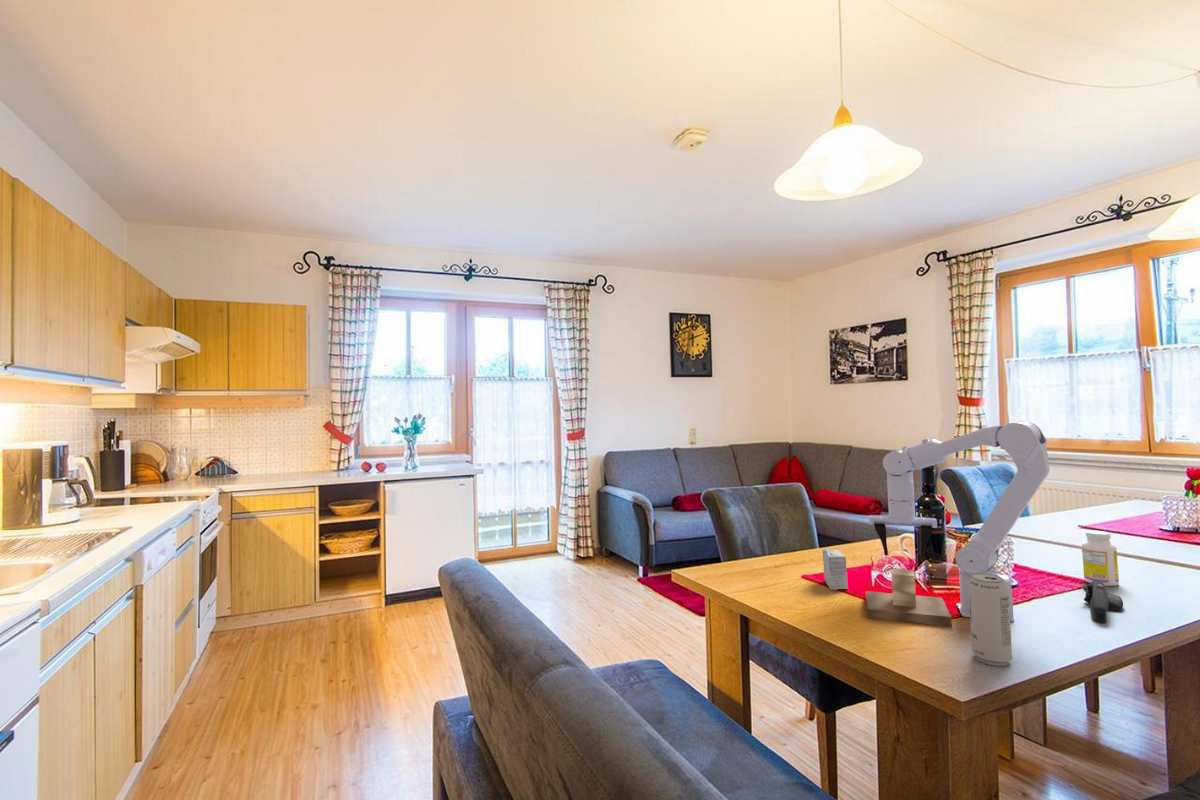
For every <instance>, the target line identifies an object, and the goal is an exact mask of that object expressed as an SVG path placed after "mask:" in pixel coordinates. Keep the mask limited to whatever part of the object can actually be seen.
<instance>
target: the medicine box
mask: <svg viewBox="0 0 1200 800" xmlns="http://www.w3.org/2000/svg"><path fill="white" fill-rule="evenodd" d="M822 560H823V561H822V562H823V578H824V582H825V584H826V585H827V586H828V589H829V590H831V591H832V590H833V591H839V590H838V589H848V590H849V585H848V570H847V557H846V556H845V555H844V554H843V552H842V551H841V550H840V549H823V550H822Z"/></svg>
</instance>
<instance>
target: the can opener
mask: <svg viewBox="0 0 1200 800" xmlns="http://www.w3.org/2000/svg"><path fill="white" fill-rule="evenodd" d="M1081 585H1082V587H1081V589H1082V590H1083V591H1084V592H1085V594H1084V595H1085V596H1084V598H1083V601H1084V602H1086V603H1087V604H1090V607H1089V608H1090V615H1091V618H1092V620H1093V621H1094V622H1096V623H1098V624H1106V622H1107V613H1108V611H1109V610H1111V611H1119V612H1120V611H1122V609H1123V607H1124V601H1123V599H1122V597H1121V596H1119V595H1118V594H1114V593H1111V592H1109V591H1107V589H1106V586H1105V585H1104V584H1103V583H1102V582H1101V581H1099V580H1095V581H1092V583H1082V584H1081Z"/></svg>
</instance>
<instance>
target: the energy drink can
mask: <svg viewBox="0 0 1200 800" xmlns="http://www.w3.org/2000/svg"><path fill="white" fill-rule="evenodd" d="M969 603H970V617H969V619H970V635H971V637H970V639H971V652H972V654H973V655H974V656H975V659H976V660H977V661H980V662H982V663H983V664H987V665H991V666H996V667H997V666H998V667H1005V666H1008V665H1009V663H1010V662H1011V661H1012V660H1013V647H1012V646H1013V645H1012V631H1011V621H1010V609H1009V591H1008V588H1007V586H1006V585H1005V583H1004V579H1003V578H1002V577H999V576H996V575H991V574H973V575H972V579H971V581H970V583H969Z"/></svg>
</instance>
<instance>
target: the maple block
mask: <svg viewBox="0 0 1200 800" xmlns="http://www.w3.org/2000/svg"><path fill="white" fill-rule="evenodd" d="M915 578H916V577H915V570H910V569H899V568H892V569H891V586H892V587H891V588H892V594H893V605H898V606H906V607H915V608H916V596H917V595H916V579H915Z"/></svg>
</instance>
